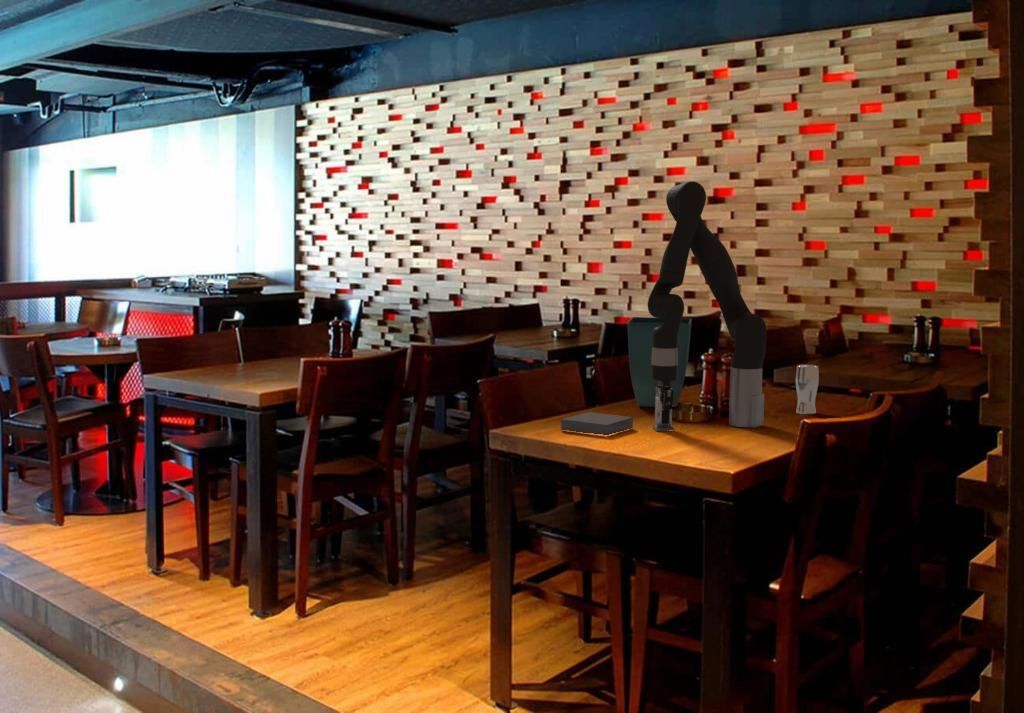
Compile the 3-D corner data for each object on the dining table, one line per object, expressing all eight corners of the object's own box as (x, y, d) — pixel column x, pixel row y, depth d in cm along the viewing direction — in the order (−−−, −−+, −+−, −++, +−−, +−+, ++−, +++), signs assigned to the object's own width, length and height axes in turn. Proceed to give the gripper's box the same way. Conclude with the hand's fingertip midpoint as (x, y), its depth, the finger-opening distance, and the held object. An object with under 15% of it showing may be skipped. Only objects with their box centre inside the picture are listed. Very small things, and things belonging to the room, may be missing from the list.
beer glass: (815, 411, 327) (816, 364, 326) (819, 414, 320) (821, 367, 319) (792, 410, 328) (794, 364, 326) (796, 414, 321) (798, 367, 319)
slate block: (632, 430, 296) (633, 417, 295) (606, 439, 284) (606, 424, 283) (588, 425, 304) (588, 412, 304) (561, 433, 292) (561, 419, 292)
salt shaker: (673, 431, 292) (674, 393, 291) (656, 431, 292) (657, 393, 291) (669, 428, 297) (670, 390, 296) (652, 428, 297) (653, 390, 296)
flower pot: (688, 410, 327) (690, 322, 324) (625, 408, 331) (627, 321, 328) (689, 401, 347) (691, 318, 343) (631, 399, 351) (632, 317, 347)
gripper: (683, 366, 286) (682, 426, 288) (671, 360, 300) (670, 417, 302) (656, 366, 285) (655, 426, 287) (646, 360, 299) (645, 417, 301)
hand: (663, 421), depth 294 cm, fingers closed on salt shaker, 4 cm apart
